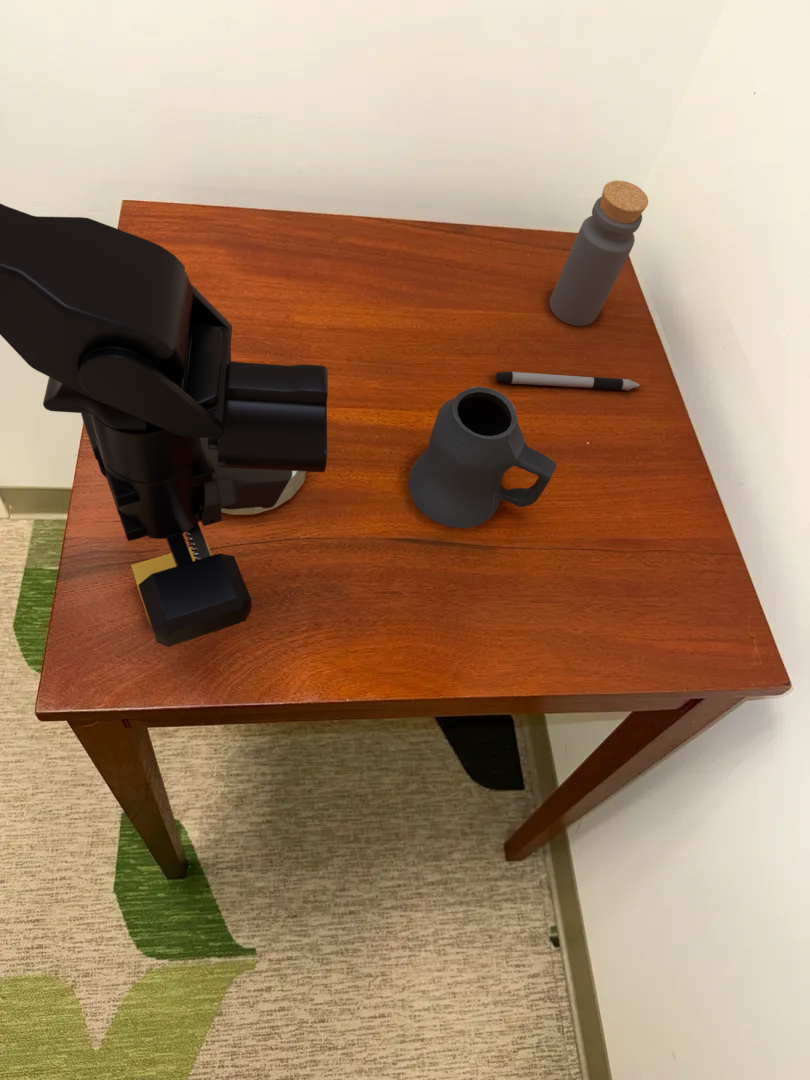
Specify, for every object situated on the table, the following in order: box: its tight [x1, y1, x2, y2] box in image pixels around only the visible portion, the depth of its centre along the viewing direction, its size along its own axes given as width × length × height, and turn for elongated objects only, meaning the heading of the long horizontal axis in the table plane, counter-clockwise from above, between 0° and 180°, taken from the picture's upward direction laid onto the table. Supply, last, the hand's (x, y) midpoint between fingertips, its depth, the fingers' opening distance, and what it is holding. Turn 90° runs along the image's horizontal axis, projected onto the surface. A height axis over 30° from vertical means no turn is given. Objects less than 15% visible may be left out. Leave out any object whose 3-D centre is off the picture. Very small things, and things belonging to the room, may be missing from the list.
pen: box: [495, 371, 642, 392], centre depth 82 cm, size 1×16×1 cm, turn 94°
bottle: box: [549, 180, 649, 327], centre depth 83 cm, size 6×6×15 cm
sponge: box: [130, 542, 213, 626], centre depth 61 cm, size 6×4×4 cm, turn 115°
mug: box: [407, 386, 557, 529], centre depth 68 cm, size 12×9×11 cm
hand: (174, 566), depth 59 cm, fingers open, 9 cm apart
